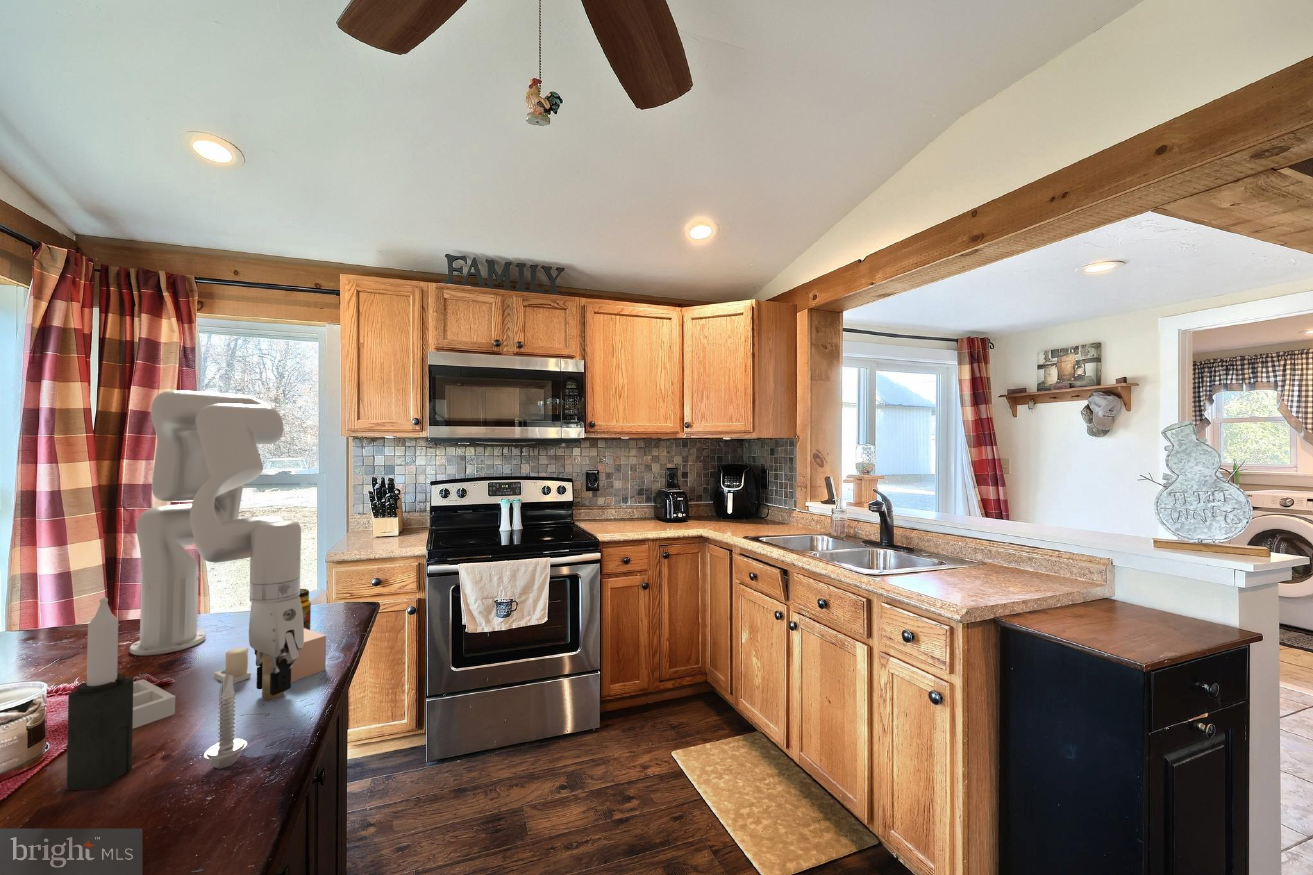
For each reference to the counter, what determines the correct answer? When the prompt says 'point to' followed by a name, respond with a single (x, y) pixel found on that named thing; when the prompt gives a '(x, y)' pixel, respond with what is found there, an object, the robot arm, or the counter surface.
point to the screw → (226, 730)
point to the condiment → (305, 607)
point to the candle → (100, 711)
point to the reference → (235, 665)
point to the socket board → (150, 703)
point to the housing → (310, 656)
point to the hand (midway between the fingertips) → (273, 688)
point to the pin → (266, 678)
